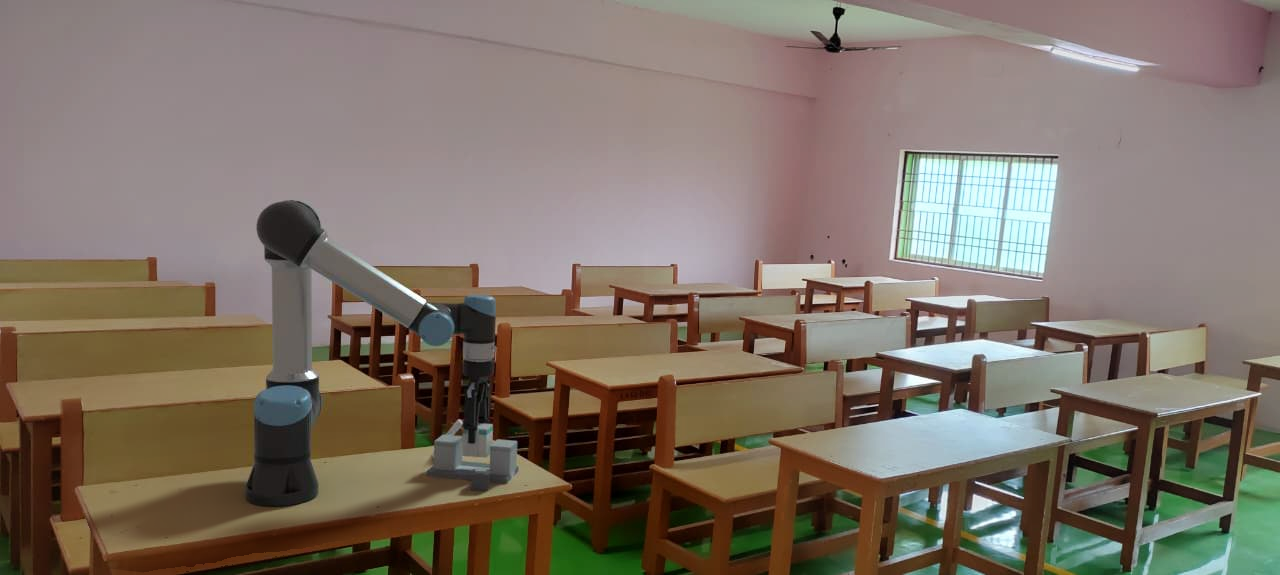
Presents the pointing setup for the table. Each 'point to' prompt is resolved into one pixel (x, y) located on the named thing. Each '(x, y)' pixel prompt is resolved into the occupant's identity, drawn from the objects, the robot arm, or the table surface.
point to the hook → (453, 429)
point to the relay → (480, 479)
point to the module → (480, 440)
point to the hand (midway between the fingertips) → (476, 452)
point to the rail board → (453, 466)
